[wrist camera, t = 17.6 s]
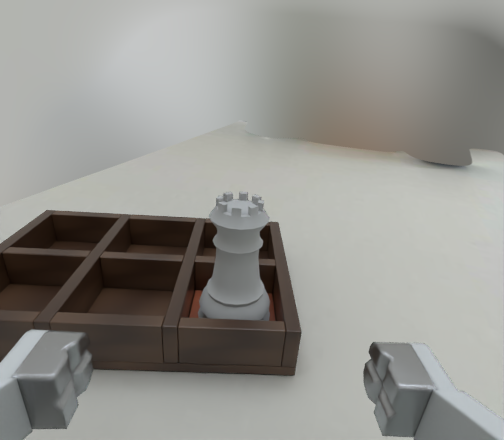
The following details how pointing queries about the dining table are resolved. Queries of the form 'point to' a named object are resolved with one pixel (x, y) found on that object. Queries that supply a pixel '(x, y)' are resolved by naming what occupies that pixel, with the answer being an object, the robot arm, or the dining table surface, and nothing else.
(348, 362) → the dining table surface
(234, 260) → the rook chess piece
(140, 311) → the grid
